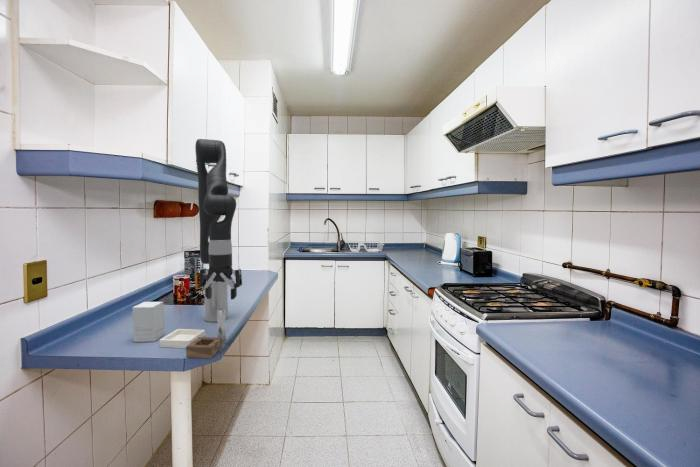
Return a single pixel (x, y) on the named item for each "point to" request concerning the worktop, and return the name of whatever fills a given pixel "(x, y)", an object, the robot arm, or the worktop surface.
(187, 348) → the bore block
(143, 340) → the supplement box
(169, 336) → the tray
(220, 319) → the cylinder
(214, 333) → the worktop surface
